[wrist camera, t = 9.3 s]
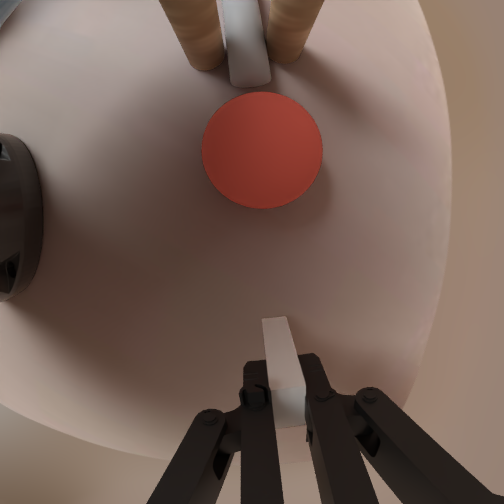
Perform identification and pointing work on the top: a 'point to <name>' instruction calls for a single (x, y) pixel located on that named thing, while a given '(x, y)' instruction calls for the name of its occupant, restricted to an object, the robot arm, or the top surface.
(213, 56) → the pin
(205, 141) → the ball
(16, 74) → the top surface
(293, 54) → the pin
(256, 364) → the robot arm
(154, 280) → the top surface
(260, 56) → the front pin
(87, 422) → the top surface
